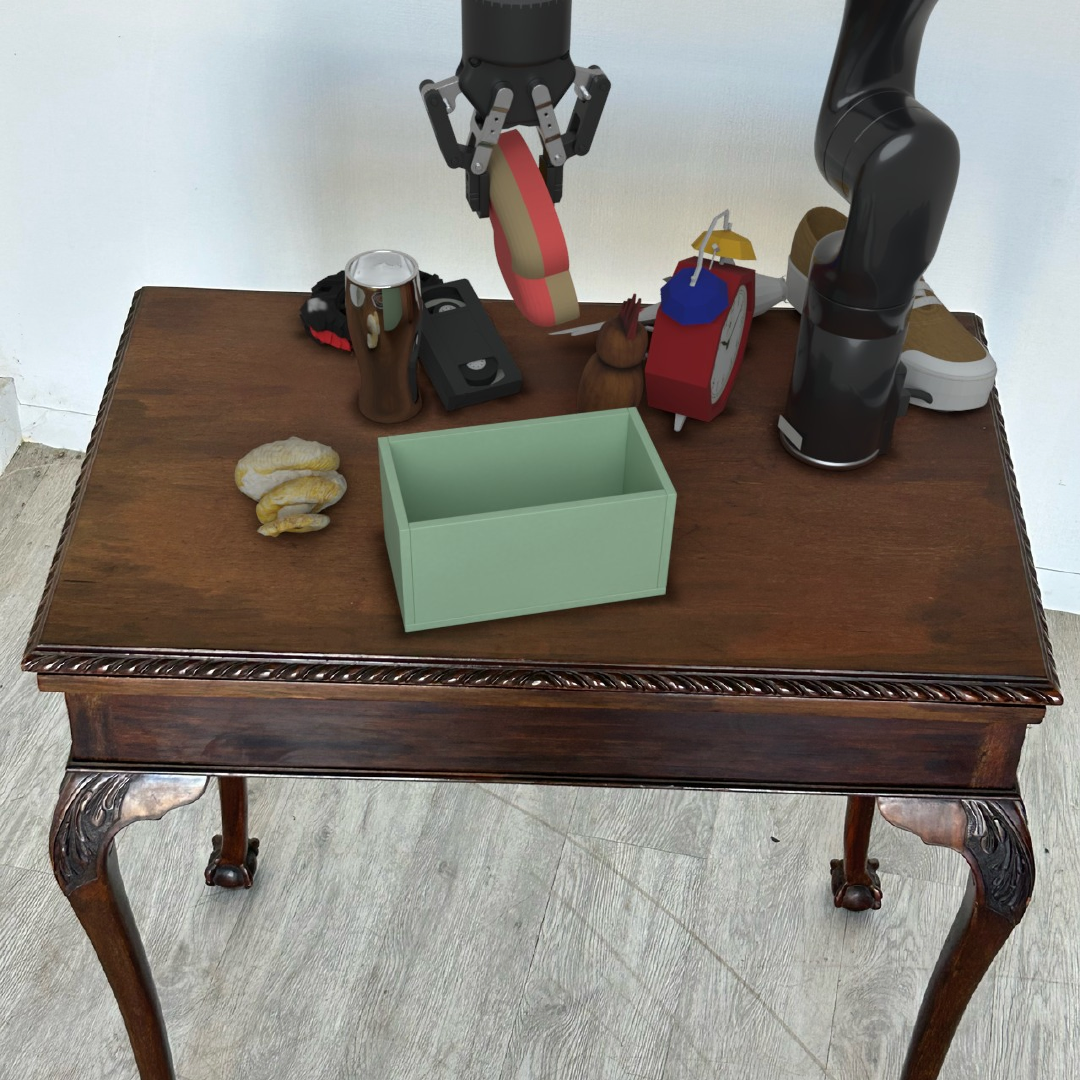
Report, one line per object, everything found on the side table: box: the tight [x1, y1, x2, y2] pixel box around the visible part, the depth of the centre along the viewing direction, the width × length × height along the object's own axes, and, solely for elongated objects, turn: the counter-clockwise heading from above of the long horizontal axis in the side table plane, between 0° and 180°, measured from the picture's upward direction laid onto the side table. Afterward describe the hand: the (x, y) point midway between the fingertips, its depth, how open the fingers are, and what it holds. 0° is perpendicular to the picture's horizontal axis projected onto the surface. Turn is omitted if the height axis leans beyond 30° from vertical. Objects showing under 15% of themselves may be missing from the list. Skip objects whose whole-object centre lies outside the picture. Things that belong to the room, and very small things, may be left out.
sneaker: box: [785, 205, 998, 412], centre depth 137 cm, size 10×29×10 cm, turn 27°
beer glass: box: [344, 248, 423, 424], centre depth 127 cm, size 7×7×15 cm
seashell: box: [233, 435, 348, 538], centre depth 119 cm, size 10×6×15 cm
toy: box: [299, 269, 444, 352], centre depth 142 cm, size 17×16×3 cm
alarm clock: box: [642, 208, 758, 432], centre depth 126 cm, size 15×9×20 cm, turn 157°
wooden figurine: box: [576, 293, 649, 414], centre depth 124 cm, size 7×6×15 cm
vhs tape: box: [418, 278, 524, 412], centre depth 135 cm, size 14×8×2 cm, turn 25°
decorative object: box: [487, 128, 581, 328], centre depth 105 cm, size 14×4×15 cm
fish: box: [548, 257, 789, 337], centre depth 141 cm, size 10×26×10 cm
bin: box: [377, 407, 678, 633], centre depth 111 cm, size 22×12×11 cm, turn 103°
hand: (514, 208), depth 103 cm, fingers closed on decorative object, 4 cm apart
